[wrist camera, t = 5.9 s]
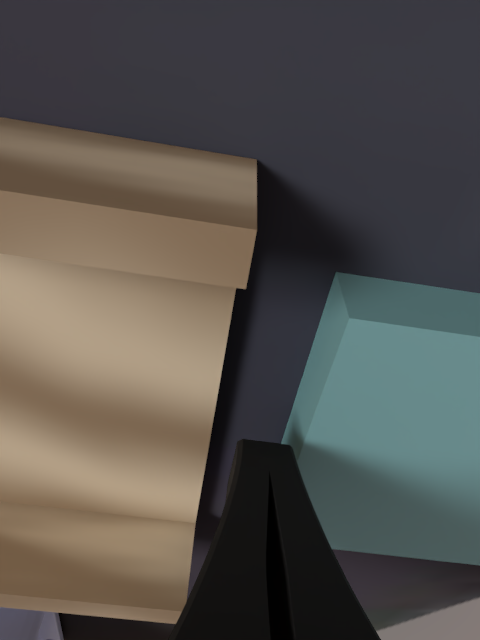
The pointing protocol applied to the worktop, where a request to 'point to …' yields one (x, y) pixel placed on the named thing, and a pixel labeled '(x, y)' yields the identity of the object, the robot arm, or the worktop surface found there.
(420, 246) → the worktop surface
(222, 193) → the pine box
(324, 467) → the cover plate
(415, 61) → the worktop surface
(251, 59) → the worktop surface
